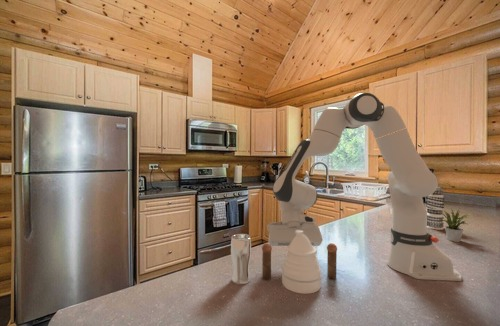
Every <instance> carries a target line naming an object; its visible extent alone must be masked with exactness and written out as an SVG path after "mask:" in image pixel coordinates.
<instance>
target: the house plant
mask: <svg viewBox="0 0 500 326" xmlns="http://www.w3.org/2000/svg"><path fill="white" fill-rule="evenodd" d="M443 212H444V213H445V214H444V213H442V214H443V217H445V218H446V219H440V220H443V221H442V222H445V223H446V224H447V226H444V229H445V233H446V234H445V236H446V240H448V241H449V242H454V243H455V242H456V243H459V242H461V240H462V236H463V232H464V231H463V230H464V229H463V228H461V227H460V226H461V225H462V224H463V225H467V226H469V224H470V223H467V222H466V220H463V219H464V218H465V219H466V218H468V216H470V213H468V214H467V213H466V214H464V215H462V216H461V217H460V213H461V211H460V210H459V208H458V209H457V210H456V213H454V210H453V209H452V208H451V211H450V212H449V213H448V212H447V211H446V210H445V209H444V210H443ZM450 213H451V215H452V216H451V215H450ZM451 217H452V218H451ZM462 220H463V221H462Z"/></svg>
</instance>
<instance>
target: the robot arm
mask: <svg viewBox="0 0 500 326" xmlns="http://www.w3.org/2000/svg"><path fill="white" fill-rule="evenodd" d="M365 125H366V126H367V127H368V128H369V129H370V130H371V131H372V134H373V136H374V140H375V142H376V144H377V147H378V149H379V152H380V154H381V157H382V159H384V161H385V162H386V165H388V167H389V169H390V171H389V173H388V175H387V182H388V187H389V195H390V201H391V202H390V203H391V210H392V211H391V212H392V213H391V215H392V217H391V218H392V220H391V221H392V223H391V225H392V227H391V228H390V238H389V239H390V243H391V244H390V251H389V256H388V259H387V261H386V264H387V266H389V268H391V269H392V270H394V271H397V272H399V273H402V274H406V275H408V276H409V277H412V278H413V279H416V280H430V281H431V280H434V281H451V282H452V281H455V282H456V281H457V282H462V280H463V278H462V275H461V272H459V271H458V270H457V269H455V268H454V264H453V261H452V259H451V257H450V256H449V255H448V254H446V252H444V251H443V250H441V249H440V248H439V247H438V246H436V245H435V244H438V243H439V241H440V240H439V238H438V237H436V236H435V235H432V234H430V233H429V232H428V227H427V208H426V207H425V204H424V200H423V198H426V196H429V195H431V194H433V193H434V192H435V191H436V189H437V187H439V185H438V184H439V183H438V182H439V181H438V179H437V176H436V175H435V174H434V172H432V171H431V170H430V169H429V166H427V164H426V163H425V161H424V159H423V157H422V156H421V155H420V153H419V152H418V151H417V149H416V147H415V145H414V143H413V141H412V137H411V135H410V133H409V132H408V129H407V126H406V124H405V122H404V120H403V119H402V117H401V115H400V113H399V112H398V111H397V109H396V108H395V107H394V106H391V105H385V104H384V103H383V102H382V101H381V100H380V99H379V98H378V97H377V96H376V95H374V94H373V93H371V92H362V93H357V94H355V96H353V97H352V98H350V100H349V101H347V103H345V105H344V106H343V107H342V108H338V107H334V106H333V107H327V108H325V109H323V111H322V112H321V114H320V115H319V117H318V119H317V121H316V123H315V125H314V127H313V130H312V132H311V133H310V135H309V137H307V138H306V139H302V140H301V141H300V143H299V144H298V145H297V146H296V148H295V150H294V151H293V154H292V155H291V156H290V158H289V160H288V162H287V163H286V165H285V167H284V168H283V170H282V172H281V173H280V175H279V176H278V177H277V178H276V180H275V181H274V183H273V186H272V192H273V196H274V198H276V201H279V210H280V211H281V213H280V219H281V221H277V222H276V221H274V222H273V221H271V222H270V223H268V224H267V226H266V230H267V232H268V244H270V245H271V247H287V246H288V245H290V244H291V242H292V240H293V239H294V237H295V236H296V233H295V231H296V230H302V231H303V234H304V235H306V236H307V238H308V239H309V241H310V243H311V245H312V246H314V247H320V246H321V245H322V243H323V235H322V233H321V229H320V228H319V225H317V224H316V222H317V221H316V218H315V217H313V216H309V215H305V214H303V211H306V210H308V209H310V208H312V207H313V206H315V204H316V203H317V201H318V190H317V188H316V187H315V186H313V185H311V184H309V183H306V182H303V181H301V180H298V179H297V178H296V176H297V174H299V171H300V169H301V167H302V166H303V164H304V162H305V161H306V160H307V159H308V158H311V157H325V156H328V155H331V154H332V153H333V152H335V150H336V149H337V147H338V145H339V143H340V140H341V138H342V135H343V133H344V130H345V129H348V130H349V129H351V130H353V129H358V128H360V127H363V126H365Z"/></svg>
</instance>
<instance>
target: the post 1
mask: <svg viewBox="0 0 500 326" xmlns="http://www.w3.org/2000/svg"><path fill="white" fill-rule="evenodd" d="M272 247H273V246H271V245H270V244H269V243H264V244H262V247H261V250H262V279H263V280H265V281H269V280H271V279H272Z"/></svg>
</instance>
